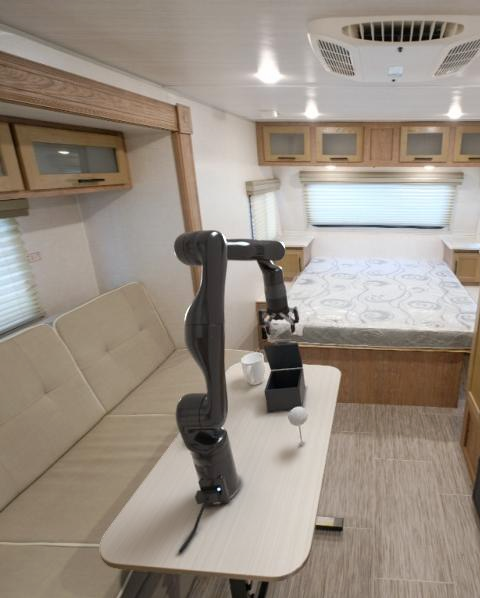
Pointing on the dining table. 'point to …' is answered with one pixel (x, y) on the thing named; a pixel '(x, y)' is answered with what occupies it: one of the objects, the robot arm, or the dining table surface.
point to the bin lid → (283, 355)
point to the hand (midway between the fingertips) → (281, 333)
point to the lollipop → (298, 418)
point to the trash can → (285, 389)
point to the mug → (253, 367)
